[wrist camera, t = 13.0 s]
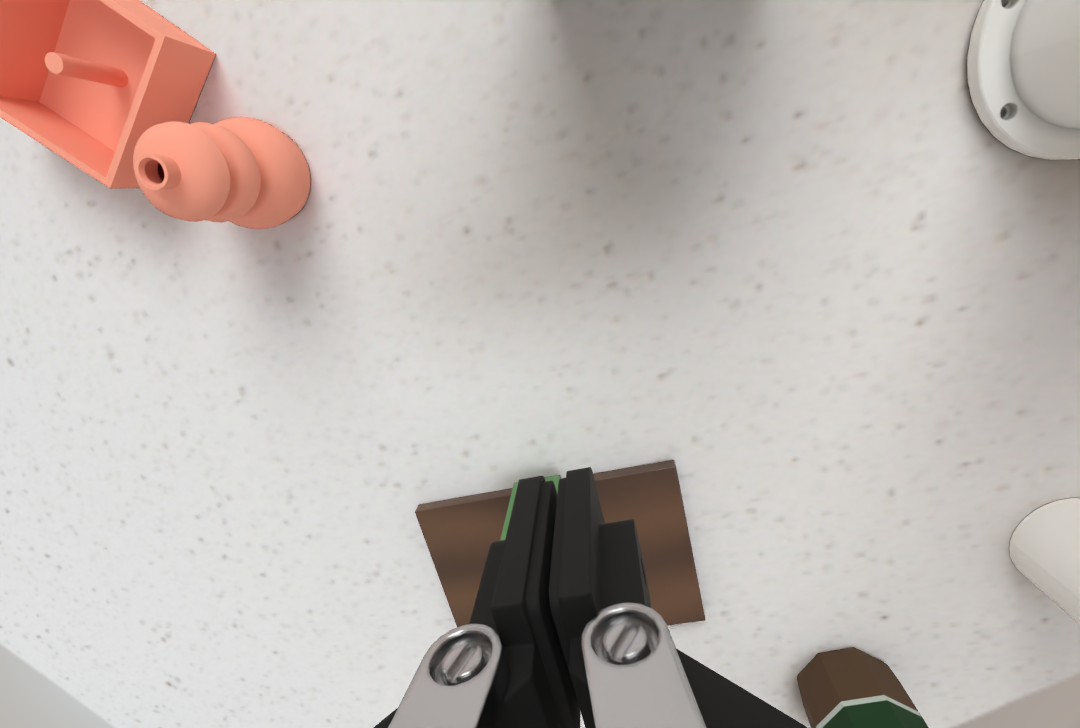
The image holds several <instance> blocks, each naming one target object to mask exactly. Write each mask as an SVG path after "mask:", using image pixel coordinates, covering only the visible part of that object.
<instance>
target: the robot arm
mask: <svg viewBox="0 0 1080 728" xmlns="http://www.w3.org/2000/svg"><path fill="white" fill-rule="evenodd" d="M1001 2H1002V4H1001ZM967 67H968V84H969V89H970V94H971V98H972V102H973V104H974V107H975V109H976V111H977V113H978V115H979V117H980V119H981V121H982V122H983V124H984V125H985V126H986V127H987V129H988V130H989V131H990V132H991V134H992V135H993V136H994V137H996V138H997V139H998V140H999V141H1001V142H1002V143H1003V144H1005V145H1006V146H1007V147H1009V148H1011V149H1013V150H1015V151H1018V152H1020V153H1022V154H1025V155H1027V156H1031V157H1036V158H1042V159H1047V160H1072V159H1080V0H984V1H983V3H982V5H981V7H980V10H979V13H978V15H977V18H976V21H975V24H974V27H973V30H972V33H971V39H970V45H969V51H968V56H967ZM1000 112H1001V115H1000ZM580 710H581V714H582V717H583V720H584V724H585V727H586V728H807V727H806V726H804V725H803V724H801V723H799V722H798V721H796V720H794V719H793V718H791V717H789V716H788V715H786V714H784V713H783V712H781V711H779V710H778V709H776V708H774V707H773V706H771V705H769V704H768V703H766V702H764V701H763V700H761V699H759V698H758V697H756V696H754V695H753V694H751V693H749V692H748V691H746V690H744V689H743V688H741V687H739V686H738V685H736V684H734V683H733V682H731V681H729V680H728V679H726V678H724V677H723V676H721V675H719V674H718V673H716V672H714V671H713V670H711V669H709V668H708V667H706V666H704V665H703V664H701V663H699V662H698V661H696V660H694V659H693V658H691V657H689V656H688V655H686V654H684V653H683V652H681V651H679V650H678V649H676V648H675V645H674V642H673V640H672V637H671V635H670V632H669V629H668V627H667V624H666V623H665V621H664V620H663V618H662V616H661V615H660V614H658V613H657V612H656V611H655V610H653V609H652V607H651V601H650V594H649V588H648V582H647V576H646V571H645V566H644V561H643V556H642V551H641V547H640V542H639V538H638V534H637V529H636V525H635V521H634V519H630V520H624V521H618V522H612V523H605V521H604V517H603V513H602V509H601V505H600V501H599V496H598V492H597V488H596V484H595V480H594V476H593V472H592V469H591V467H589V468H583V469H577V470H572V471H567V475H566V478H563V479H559V483H558V494H557V491H556V488H555V484H554V482H553V480H551V481H545V478H544V477H543V476H538V477H533V478H527V479H521V480H519V482H518V486H517V491H516V495H515V499H514V504H513V508H512V513H511V517H510V521H509V526H508V530H507V534H506V539H505V540H500V541H494V542H492V543H491V545H490V548H489V552H488V555H487V559H486V563H485V567H484V570H483V574H482V578H481V582H480V585H479V589H478V593H477V597H476V600H475V604H474V608H473V612H472V615H471V619H470V623H469V624H468V625H463V626H460V627H457V628H455V629H452V630H450V631H449V632H447V633H446V634H444V635H442V636H441V637H440V638H439V639H438V640H437V641H435V642H434V643H433V644H432V645H431V646H430V648H429V649H428V651H427V652H426V654H425V655H424V657H423V659H422V661H421V663H420V665H419V667H418V669H417V671H416V673H415V675H414V677H413V679H412V681H411V683H410V685H409V687H408V689H407V691H406V693H405V695H404V697H403V699H402V701H401V703H400V705H399V707H398V708H397V709H396V710H395V711H393V712H392V713H391V714H390V715H389V716H387V717H386V718H385V719H384V720H382V721H381V722H380V723H379V724H378V725H376V726H375V727H374V728H580Z"/></svg>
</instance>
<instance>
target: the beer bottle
mask: <svg viewBox="0 0 1080 728" xmlns="http://www.w3.org/2000/svg"><path fill="white" fill-rule="evenodd" d="M797 680H798V685H799V689H800V693H801V697H802V702H803V706H804V708H805V711H806V714H807V717H808V720H809V723H810V726H811V728H928V726H927V725H926V723H925V721H924V720H923V718H922V717H921V715H920V713H919V712H918V710H917V709H916V707H915V705H914V704H913V702H912V701H911V699H910V698H909V696H908V694H907V693H906V691H905V690H904V688H903V686H902V685H901V683H900V682H899V680H898V679H897V678H896V676H895V675H894V673H893V672H892V671H891V669H890V668H889V666H888V665H887V664H885V663H884V662H882V661H880V660H878V659H876V658H874V657H872V656H870V655H868V654H866V653H864V652H862V651H860V650H858V649H856V648H854V647H853V648H848V649H842V650H836V651H830V652H824V653H818V654H817V655H816V656H815V657H814V659H813V660H812V661H811V662H810V663H809V664H808V665H807V666H806V667H805V668H804V669H803V670H802V671H801V672H800V673H799V674H798V677H797Z"/></svg>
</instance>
